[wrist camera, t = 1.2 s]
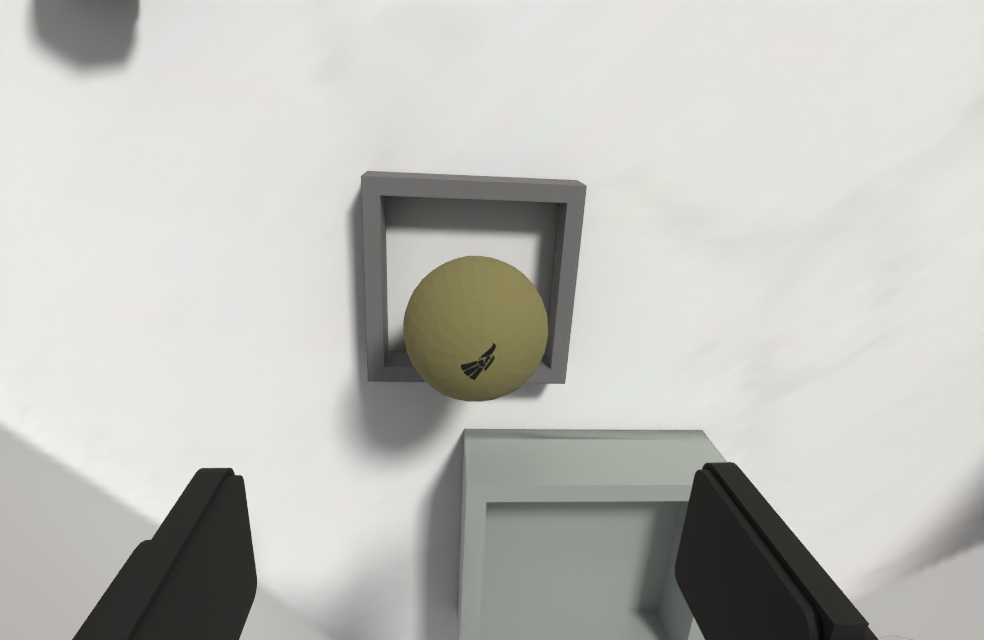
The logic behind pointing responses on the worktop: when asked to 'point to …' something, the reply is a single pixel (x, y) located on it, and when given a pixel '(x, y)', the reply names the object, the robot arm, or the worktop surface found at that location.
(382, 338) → the bulb holder
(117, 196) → the worktop surface
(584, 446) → the bin
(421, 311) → the light bulb
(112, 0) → the worktop surface
